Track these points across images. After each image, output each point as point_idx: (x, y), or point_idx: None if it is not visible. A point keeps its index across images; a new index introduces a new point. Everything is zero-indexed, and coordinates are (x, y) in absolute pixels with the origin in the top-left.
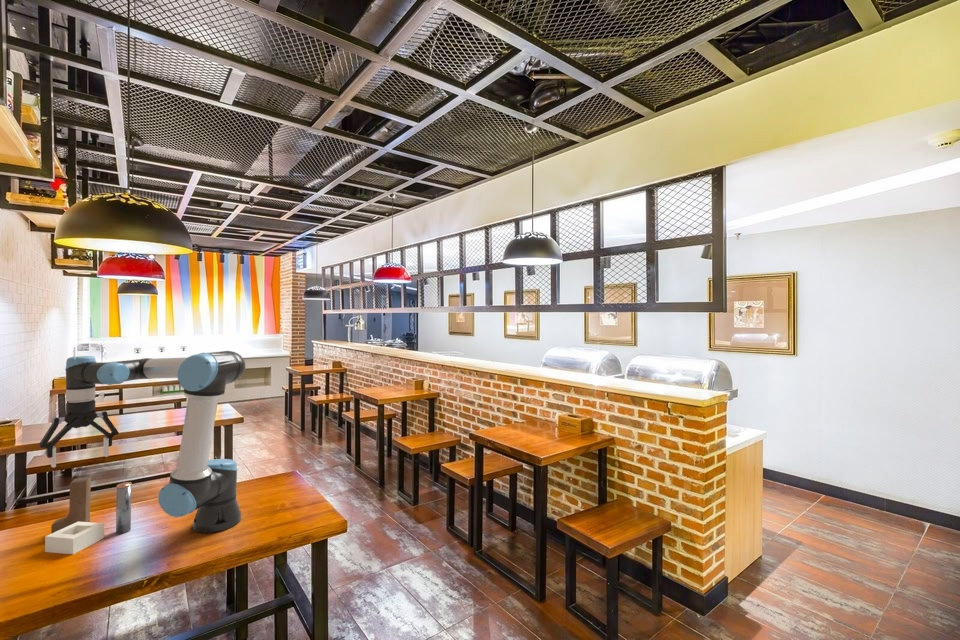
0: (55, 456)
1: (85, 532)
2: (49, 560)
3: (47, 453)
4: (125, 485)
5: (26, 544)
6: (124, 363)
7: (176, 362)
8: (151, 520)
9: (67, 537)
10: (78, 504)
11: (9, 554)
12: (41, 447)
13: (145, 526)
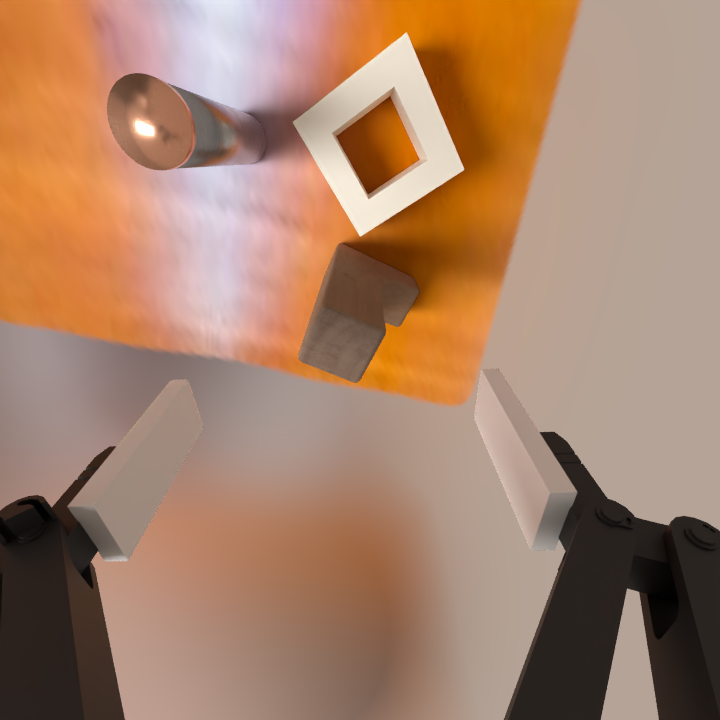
0: (515, 423)
1: (360, 73)
2: (461, 67)
3: (581, 467)
4: (140, 85)
5: (466, 281)
6: None
7: None
8: None
9: (418, 74)
10: (354, 278)
11: (512, 240)
12: (699, 521)
13: None
